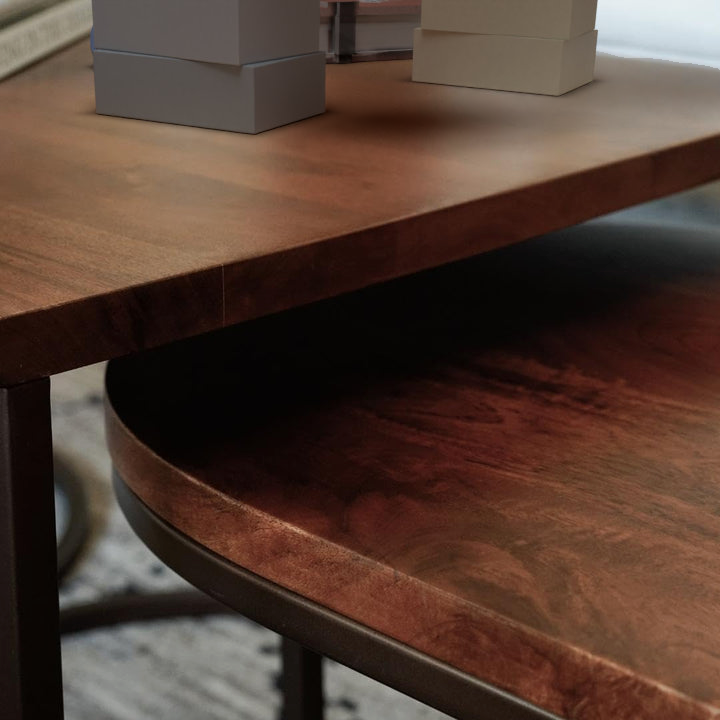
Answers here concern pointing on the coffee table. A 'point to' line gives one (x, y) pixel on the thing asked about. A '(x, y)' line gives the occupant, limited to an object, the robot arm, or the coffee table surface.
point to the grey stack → (209, 62)
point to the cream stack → (507, 44)
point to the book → (368, 29)
